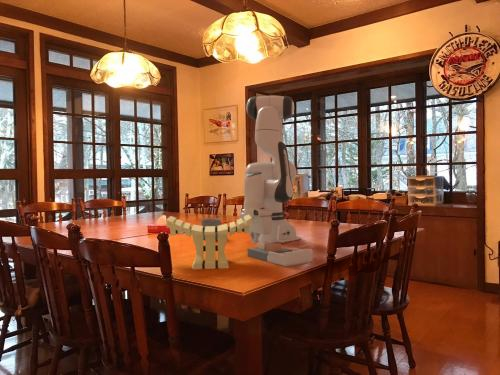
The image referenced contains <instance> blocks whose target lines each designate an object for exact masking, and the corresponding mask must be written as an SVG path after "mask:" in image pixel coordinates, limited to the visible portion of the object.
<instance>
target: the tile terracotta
mask: <svg viewBox="0 0 500 375" xmlns="http://www.w3.org/2000/svg"><path fill="white" fill-rule="evenodd" d="M282 247H283V245H282V243H279V242H273V243H267V244H266V250H268V251H272V252H274V251H280V250H282Z"/></svg>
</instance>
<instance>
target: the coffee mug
mask: <svg viewBox="0 0 500 375" xmlns="http://www.w3.org/2000/svg"><path fill="white" fill-rule="evenodd" d="M221 220H222V219H221V218H217V217H216V218H213V217H212V218H210V217H209V218H201V220H200V221H201V222H200V223H201V224H200V226H203V227H205V226H215V227H217V226H219V225H222V223H221ZM203 241H205V235H204V233H203ZM215 241H218V232H215Z"/></svg>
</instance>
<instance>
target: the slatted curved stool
mask: <svg viewBox="0 0 500 375" xmlns="http://www.w3.org/2000/svg"><path fill="white" fill-rule="evenodd" d="M228 224H229V226H228ZM250 226H252V218H251V217H250V215H249V214H248V215H246V216H244V222H243V220H242V218H240V219H236V223H235V221H230V222H229V223H226V224H225V223H224V224H221V225H219V226H217V227H215V226H205V227H203V226H201V225H198V224H197V225H196V224H192V223H190V222H185V223H184V221H183V220H182V219H179V218H178V219H177V217H176V216H172V215H170V216H168V218H166V229H168V228H169V230H170V231H169V232H170V237H172V236H174V235H175V236H176V235H184V236H187V237H190V238H191V237H192V241H193V243H194V247H195V251H196V255H195V258H194V260H193V263H192V267H191V270H203V269H204V270H208V269H209V270H210V269H211V270H213V269H229V268H230V267H229V260H228V258H227V256H226V253H225V249H226V248H225V247H226V246H227V245H226V244H227V242H228V236H229V237H231V236H233V235H235V234H236V233H237V234H242V233H244V234H247V235H250V234H249V227H250ZM215 232H218V240H217V245H216V240H215ZM203 233H204V235H205V240H203ZM204 242H205V244H204ZM216 252H217V258H216ZM204 253H205V258H204ZM216 259H217V261H216Z"/></svg>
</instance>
